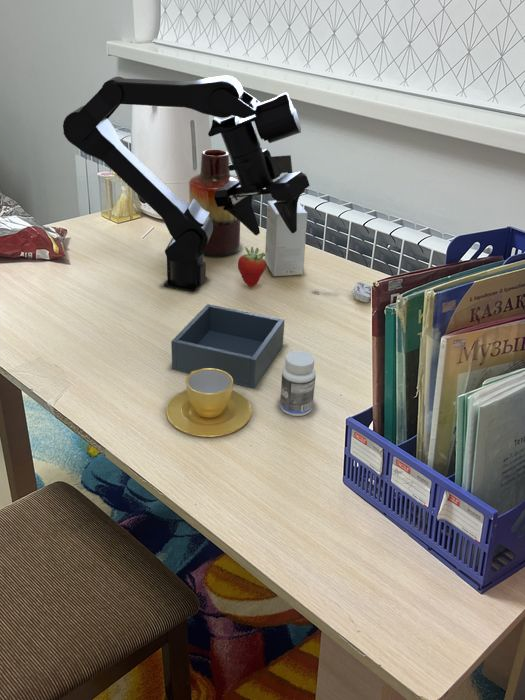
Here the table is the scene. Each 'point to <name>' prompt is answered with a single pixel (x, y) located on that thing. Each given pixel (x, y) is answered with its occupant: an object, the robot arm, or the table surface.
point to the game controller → (361, 291)
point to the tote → (229, 343)
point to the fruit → (251, 266)
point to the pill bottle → (298, 383)
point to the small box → (285, 243)
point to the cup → (208, 405)
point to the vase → (203, 192)
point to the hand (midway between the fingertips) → (275, 233)
